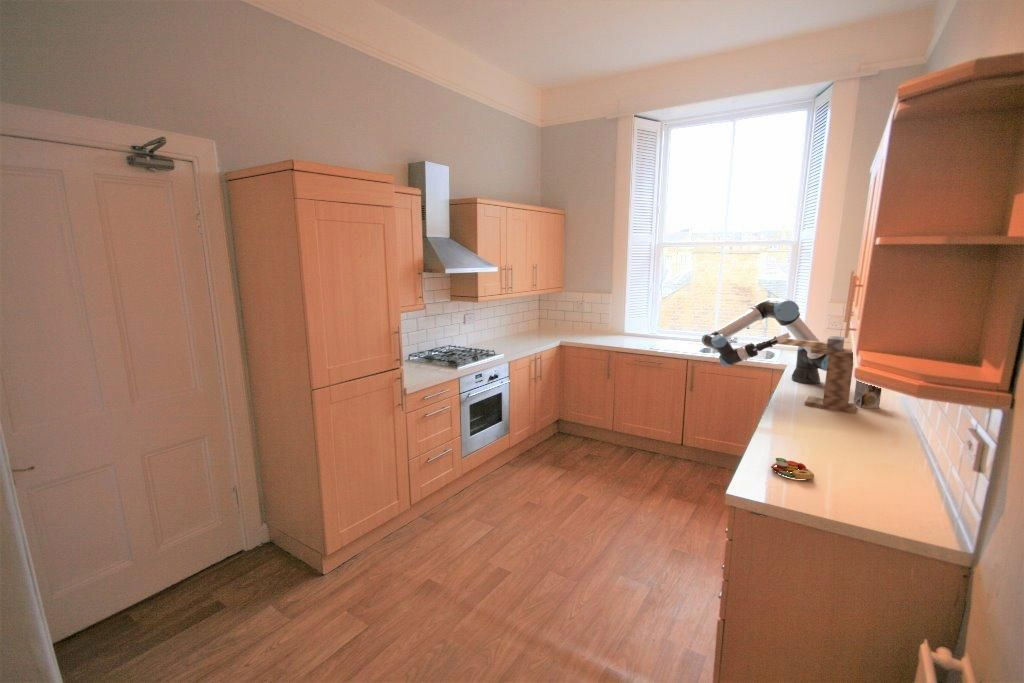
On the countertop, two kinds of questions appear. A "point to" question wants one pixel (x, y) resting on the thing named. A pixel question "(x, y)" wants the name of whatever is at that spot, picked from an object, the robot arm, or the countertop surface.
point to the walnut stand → (836, 382)
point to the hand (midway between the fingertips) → (786, 336)
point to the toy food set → (792, 469)
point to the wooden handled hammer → (818, 343)
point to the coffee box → (867, 395)
